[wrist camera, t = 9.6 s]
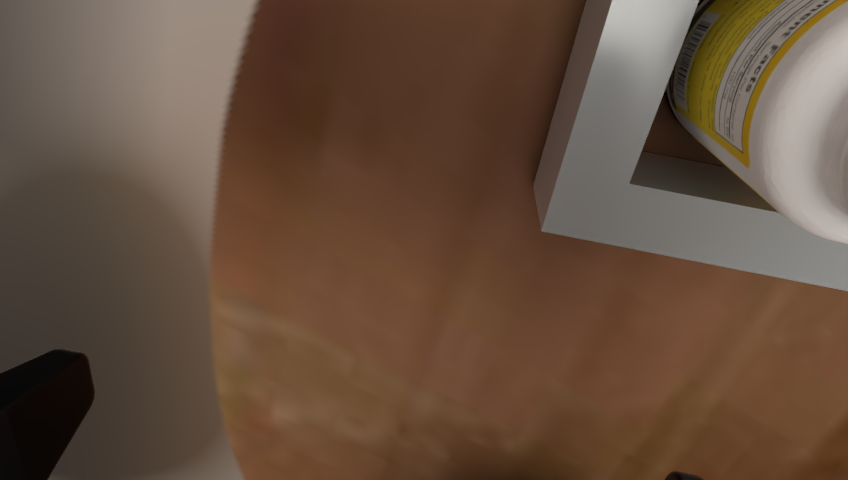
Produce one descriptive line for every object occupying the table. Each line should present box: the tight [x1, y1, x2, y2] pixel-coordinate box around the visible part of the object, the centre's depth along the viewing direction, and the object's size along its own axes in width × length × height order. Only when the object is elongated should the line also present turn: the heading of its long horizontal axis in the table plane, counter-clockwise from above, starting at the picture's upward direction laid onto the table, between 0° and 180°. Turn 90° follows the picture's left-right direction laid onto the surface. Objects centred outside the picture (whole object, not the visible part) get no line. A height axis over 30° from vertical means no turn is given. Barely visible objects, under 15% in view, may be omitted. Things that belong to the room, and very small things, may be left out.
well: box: [533, 0, 848, 291], centre depth 15 cm, size 11×11×4 cm
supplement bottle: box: [666, 0, 848, 244], centre depth 12 cm, size 5×5×10 cm
